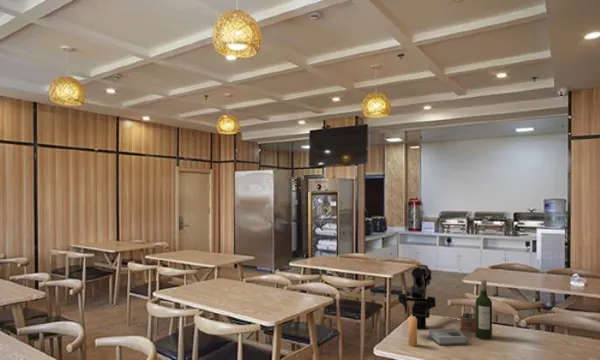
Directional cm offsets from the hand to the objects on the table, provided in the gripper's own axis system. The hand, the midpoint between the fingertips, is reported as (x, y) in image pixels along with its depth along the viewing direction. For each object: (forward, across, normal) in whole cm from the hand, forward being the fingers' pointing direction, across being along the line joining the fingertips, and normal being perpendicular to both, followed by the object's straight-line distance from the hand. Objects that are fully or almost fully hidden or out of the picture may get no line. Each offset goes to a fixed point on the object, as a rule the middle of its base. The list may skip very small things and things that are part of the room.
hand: (415, 314), depth 210 cm
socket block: (+5, +15, +14) cm, 21 cm away
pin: (+14, 0, +4) cm, 15 cm away
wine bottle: (-5, +32, +24) cm, 40 cm away
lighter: (-10, +24, +29) cm, 39 cm away
